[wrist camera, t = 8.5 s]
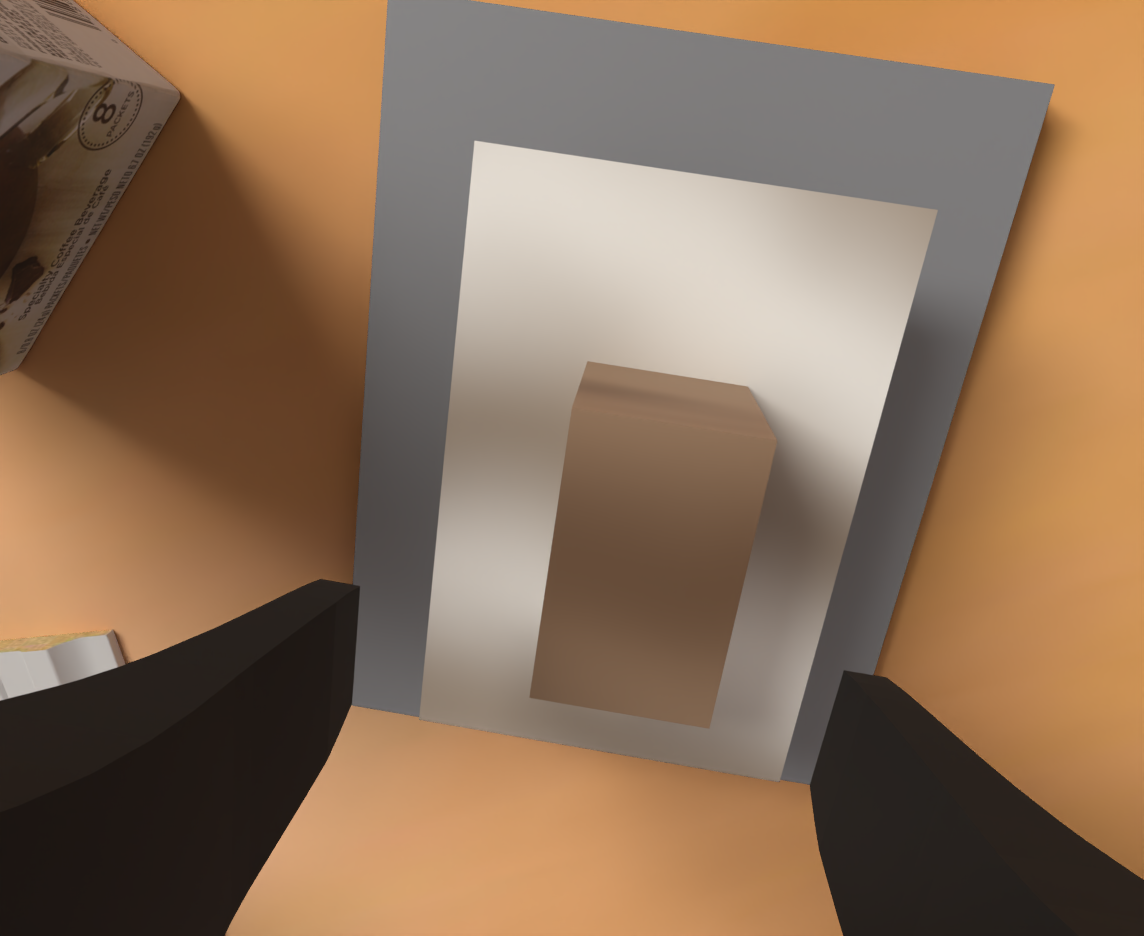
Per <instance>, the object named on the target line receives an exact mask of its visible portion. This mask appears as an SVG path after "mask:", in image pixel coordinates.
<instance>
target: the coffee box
mask: <svg viewBox="0 0 1144 936" xmlns="http://www.w3.org/2000/svg"><path fill="white" fill-rule="evenodd" d="M179 100H180V93H179V91H178V90H177V89H176V88H175V87H174V86H173V85H172V84H171V83H169V82H168V81H167V80H166V79H165V78H164V77H162V76H161V75H160V74H159V73H158V72H157V71H155V70H154V69H153V68H152V67H151V66H149V65H148V64H147V63H146V62H145V61H144V60H142V59H141V58H140V57H139V56H138V55H137V54H135V53H134V52H133V51H132V50H131V49H130V48H128V47H127V46H126V45H125V44H124V43H123V42H121V41H120V40H119V39H118V38H117V37H116V36H114V35H113V34H112V33H111V32H110V31H109V30H107V29H106V28H105V27H104V26H103V25H102V24H100V23H99V22H98V21H97V20H96V19H95V18H93V17H92V16H91V15H90V14H89V13H87V12H86V11H85V10H84V9H83V8H82V7H80V6H79V5H78V4H77V3H76V2H75V1H73V0H0V375H2V374H5V373H7V372H11V371H13V370H15V369H17V368H18V367H19V365H20V364H21V362H22V361H23V359H24V358H25V356H26V355H27V353H28V351H29V350H30V348H31V347H32V345H33V343H34V342H35V340H36V338H37V336H38V335H39V333H40V331H41V330H42V328H43V326H44V325H45V323H46V321H47V319H48V318H49V316H50V314H51V313H52V311H53V309H54V308H55V306H56V304H57V303H58V301H59V299H60V298H61V296H62V294H63V293H64V291H65V289H66V288H67V286H68V284H69V283H70V281H71V279H72V278H73V276H74V274H75V273H76V271H77V269H78V268H79V266H80V264H81V263H82V261H83V260H84V258H85V256H86V255H87V253H88V251H89V250H90V248H91V246H92V245H93V243H94V241H95V240H96V238H97V236H98V235H99V233H100V231H101V230H102V228H103V226H104V225H105V223H106V221H107V220H108V218H109V216H110V215H111V213H112V211H113V210H114V208H115V206H116V205H117V203H118V201H119V200H120V198H121V196H122V195H123V193H124V191H125V190H126V188H127V186H128V185H129V183H130V181H131V180H132V178H133V176H134V175H135V173H136V171H137V170H138V168H139V166H140V165H141V163H142V161H143V160H144V158H145V157H146V155H147V153H148V151H149V150H150V148H151V146H152V145H153V143H154V141H155V140H156V138H157V136H158V135H159V133H160V131H161V130H162V128H163V126H164V125H165V123H166V121H167V119H168V118H169V116H170V115H171V113H172V111H173V110H174V108H175V106H176V105H177V103H178V101H179Z"/></svg>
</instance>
